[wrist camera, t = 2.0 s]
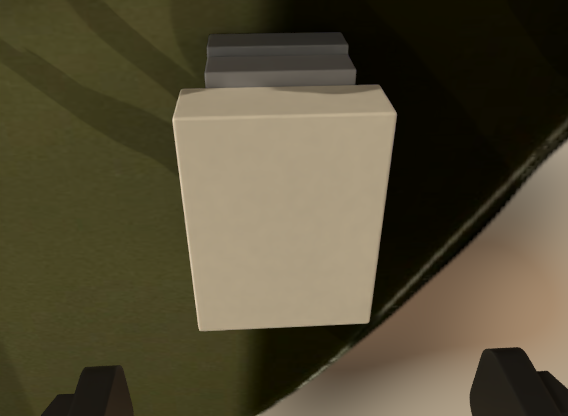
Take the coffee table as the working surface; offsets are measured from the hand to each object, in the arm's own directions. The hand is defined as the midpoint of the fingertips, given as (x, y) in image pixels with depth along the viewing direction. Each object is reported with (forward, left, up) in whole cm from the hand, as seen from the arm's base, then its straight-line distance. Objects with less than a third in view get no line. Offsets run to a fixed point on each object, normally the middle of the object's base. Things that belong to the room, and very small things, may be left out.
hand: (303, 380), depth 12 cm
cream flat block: (0, 0, -7) cm, 7 cm away
